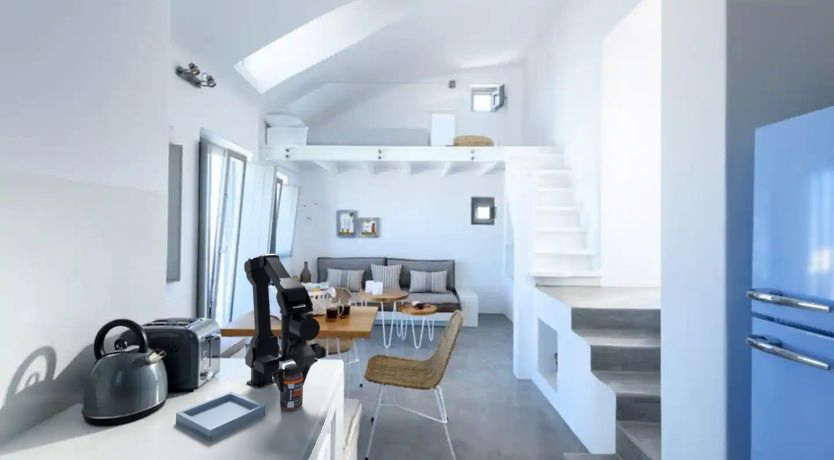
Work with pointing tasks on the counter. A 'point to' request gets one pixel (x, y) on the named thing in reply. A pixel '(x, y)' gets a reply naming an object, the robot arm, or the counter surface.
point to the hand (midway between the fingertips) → (291, 388)
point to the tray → (220, 415)
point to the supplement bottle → (292, 388)
